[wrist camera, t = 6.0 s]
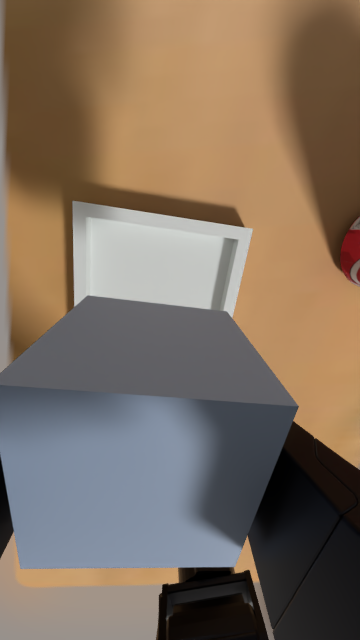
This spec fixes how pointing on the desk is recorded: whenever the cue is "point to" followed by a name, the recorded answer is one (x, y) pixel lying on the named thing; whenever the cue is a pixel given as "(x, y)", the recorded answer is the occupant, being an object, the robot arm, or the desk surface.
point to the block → (138, 438)
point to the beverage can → (351, 253)
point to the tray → (156, 258)
